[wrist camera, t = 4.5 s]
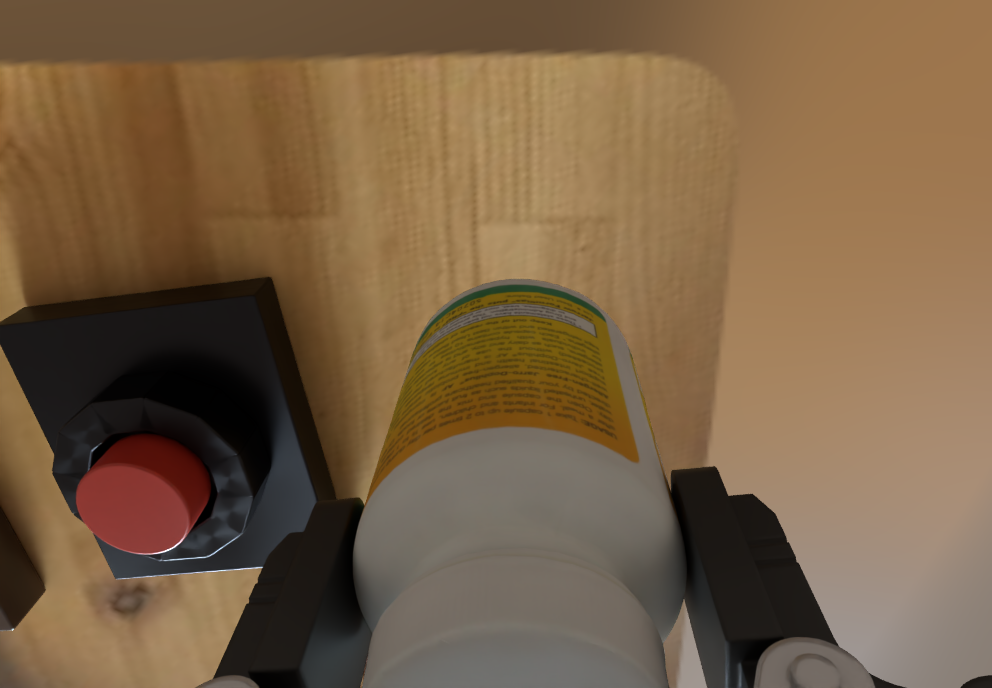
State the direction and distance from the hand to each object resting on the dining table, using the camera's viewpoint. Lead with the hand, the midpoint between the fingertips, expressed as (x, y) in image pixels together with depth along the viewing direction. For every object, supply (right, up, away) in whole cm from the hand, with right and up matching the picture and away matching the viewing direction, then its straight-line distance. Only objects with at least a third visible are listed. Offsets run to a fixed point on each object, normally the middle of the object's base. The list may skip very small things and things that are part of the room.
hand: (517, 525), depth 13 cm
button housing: (-12, 0, +14) cm, 18 cm away
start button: (-12, -1, +11) cm, 16 cm away
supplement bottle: (0, +3, +5) cm, 6 cm away
